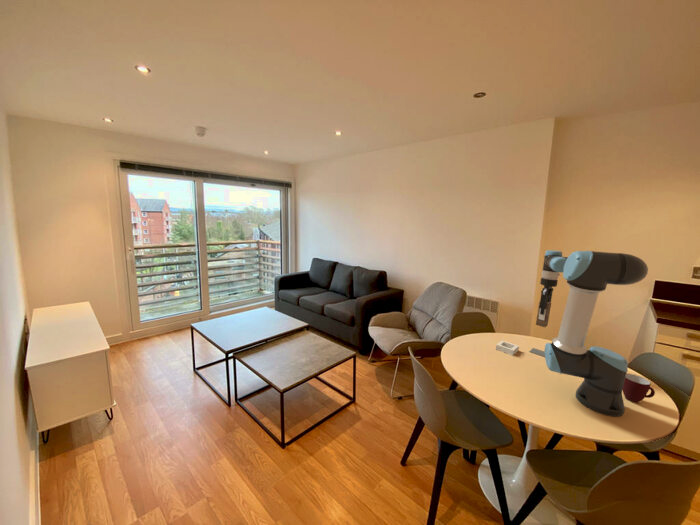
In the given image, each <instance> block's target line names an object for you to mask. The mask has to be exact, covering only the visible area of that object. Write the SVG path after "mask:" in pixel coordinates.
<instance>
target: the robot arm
mask: <svg viewBox="0 0 700 525" xmlns="http://www.w3.org/2000/svg"><path fill="white" fill-rule="evenodd" d="M543 257H544V258H543V265H542V266H543V267H542V270H541V276H540V277H541V278H540V281H539V282H540V283H539V284H540V285H542V286H543V288H542V289H541V291H540V294H541V295H540V300H539V302H540V305H538V308H540V312H539V318H538V319H540V320H545V314H546V305H547V302H550V303H551V304H552V298H553V293H554V288H555V287H557V285H558V282H559V281H558V279H559V276H561V273H562V276H563V278H564V280H566V284H567V285H568V286H569V291H568V296H567V298H566V299H567V300H566V303H565V306H564V311H563V315H562V319H561V322H560V327H559V331H558V335H557V336H556V337H553V338H552V341H551V343H550V342H547V343H545V345H544V352H545V356H544V360H545V363H546V364H545V365H546V366H547V368H548V370H550V371H551V372H554V373H558V374H559V375H561V374H562V375H567V376H573V377H576V378H577V377H578V378H583V381H582V382H581V383H580V385H579V386H578V387H577V389H576V390H575V391H576V392H575V398H576V400H577V401H578V402H579V403H580V404H581V405H583V406H585V407H587V408H588V409H590V410H591V411H592V410H593V411H595V412H596V413H599V414H602V415H606V416H609V417H622V416H623V415H624V414H625V408H626V407H625V403H624V398H623V386H624V381H625V377H626V374H628V367H629V362H628V360H627V359H626V358H625V357H624V356H622V355H621V354H619V353H618V352H615V351H613V350H610V349H607V348H604V347H600V346H591V347H590V348H589V350H588V348H587V347H586V346H585V341H586V338H587V334H588V333H589V332H588V331H589V328H590V325H591V321H592V317H593V315H594V310H595V308H596V304H597V300H598V297H599V295H600V294H599V293H602V292H604V291H606V289H607V286H608V285H616V286H617V285H619V286H627V285H634V284H637V283H639V282H641V281H643V280H644V279H645V278H646V277H647V275H648V272H649V267H648V265H647V263H646V262H645V261H644V260H643V259H641V258H640V257H638V256H636V255H633V254H628V253H622V252H620V253H619V252H608V251H607V252H605V251H594V250H577V251H573V252H571V254H569V255H568V256H563V252H562V250H561V251H560V250H554V249H553V250H551V249H547V250H546V251H545V254H544V256H543Z"/></svg>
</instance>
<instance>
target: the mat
mask: <svg viewBox="0 0 700 525" xmlns="http://www.w3.org/2000/svg"><path fill="white" fill-rule="evenodd" d="M528 352H529V353H531V354H534V355H538V356H540V357H544V358H545V350H544V351H543V350H540V349H538V348H535V347H532V348H531V349H530V350H529V351H528Z"/></svg>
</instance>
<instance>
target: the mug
mask: <svg viewBox="0 0 700 525" xmlns="http://www.w3.org/2000/svg"><path fill="white" fill-rule="evenodd" d="M649 391H650V393H649ZM648 393H649V394H648ZM622 395H623V396H624V398H625V399H626V400H627V401H629V402H631V403H634V402H635V403H634V404H638V403H640V402H642V401H643V400H644V399H646V398H648V399H649V398H653V397H654V396H655V395H656V391H655V390H654V388H653V387H651V382H650V381H649V380H648V379H646V378H644V377H641V376H639V375H636V374H634V373H626V377H625V381H624V386H623V390H622Z"/></svg>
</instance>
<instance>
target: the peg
mask: <svg viewBox="0 0 700 525" xmlns="http://www.w3.org/2000/svg"><path fill="white" fill-rule="evenodd" d="M538 304H539V305H540V301H539V302H538ZM539 305H538V306H539ZM551 307H552V302H551V303H550V302H547V305H546V314H545V320H540V319H538V318H539V312H540V308H538V309H537V315H536V323H535V325H536V326H539V327H542V328H546V327H548V325H549V319H550V312H551Z"/></svg>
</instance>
